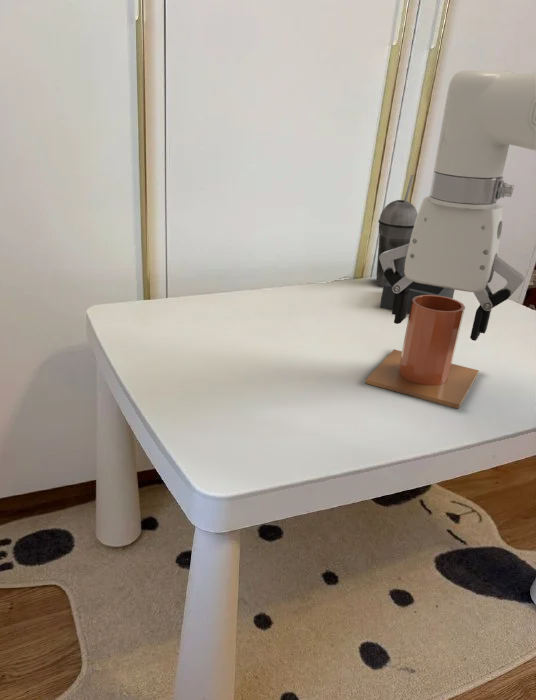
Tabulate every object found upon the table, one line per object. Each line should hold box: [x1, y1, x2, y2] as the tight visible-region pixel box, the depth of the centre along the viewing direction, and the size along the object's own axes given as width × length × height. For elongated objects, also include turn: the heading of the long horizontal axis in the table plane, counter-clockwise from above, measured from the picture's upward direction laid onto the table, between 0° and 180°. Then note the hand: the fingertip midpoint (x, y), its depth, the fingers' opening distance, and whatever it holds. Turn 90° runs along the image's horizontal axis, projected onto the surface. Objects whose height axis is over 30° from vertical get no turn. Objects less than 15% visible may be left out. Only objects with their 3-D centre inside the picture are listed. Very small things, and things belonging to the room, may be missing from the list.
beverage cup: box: [375, 174, 418, 287], centre depth 117 cm, size 7×7×20 cm
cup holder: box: [379, 272, 455, 315], centre depth 110 cm, size 10×10×4 cm
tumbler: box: [399, 295, 466, 385], centre depth 82 cm, size 6×6×10 cm
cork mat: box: [365, 349, 480, 410], centre depth 84 cm, size 12×12×1 cm
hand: (436, 328), depth 81 cm, fingers open, 9 cm apart
